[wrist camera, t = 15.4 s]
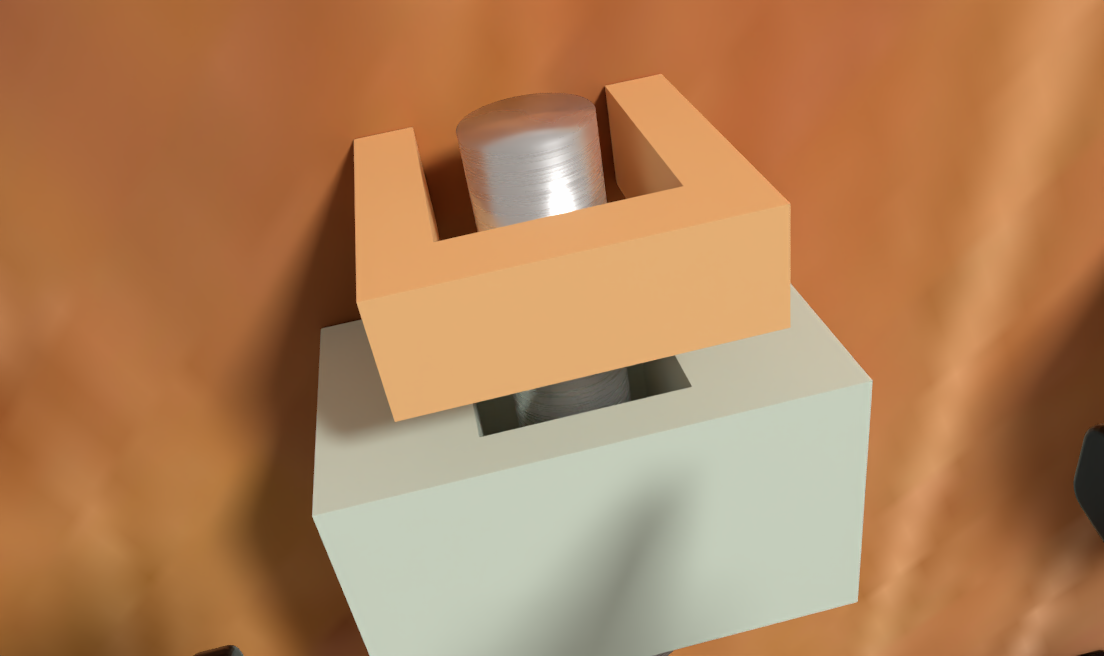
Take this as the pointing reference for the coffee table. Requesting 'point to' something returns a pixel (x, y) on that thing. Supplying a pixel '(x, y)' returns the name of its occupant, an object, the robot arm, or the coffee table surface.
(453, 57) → the coffee table surface
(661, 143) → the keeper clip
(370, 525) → the block
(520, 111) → the pin
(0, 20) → the coffee table surface
